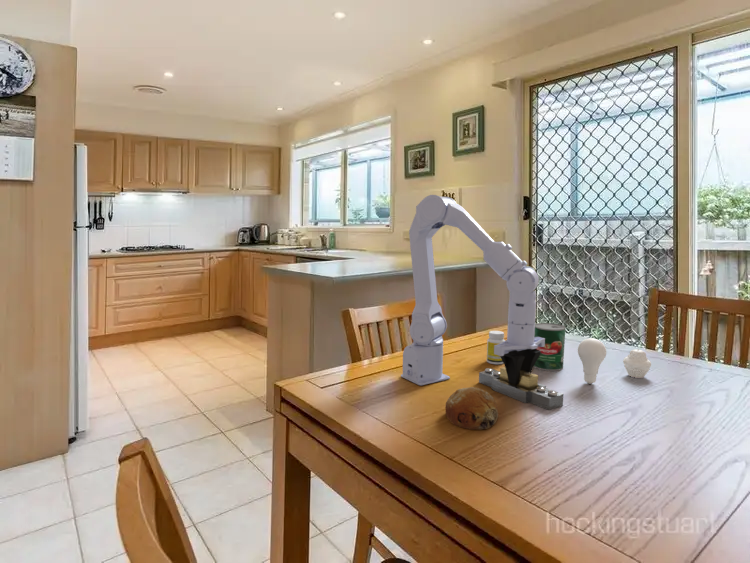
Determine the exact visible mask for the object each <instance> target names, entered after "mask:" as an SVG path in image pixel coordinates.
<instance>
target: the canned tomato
mask: <svg viewBox="0 0 750 563" xmlns="http://www.w3.org/2000/svg"><path fill="white" fill-rule="evenodd" d="M566 328H567V327H566V326H564V325H563V324H560V323H559V324H558V323H551V322H539V323H535V334H534V337H541V338H545V346H544V347H540V346H539V347H538V348H537V349H536V350H540V351H541V355H540V356H539V358H538V359H537V361H536V363H535V365H534V367H533V368H535V369H537V370H541V371H547V372H548V371H550V372H555V371H556V372H557V371H558V372H559V371H562V370H564V359H565V342H566V339H565V338H566V330H567V329H566Z"/></svg>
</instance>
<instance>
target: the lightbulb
mask: <svg viewBox="0 0 750 563" xmlns="http://www.w3.org/2000/svg"><path fill="white" fill-rule="evenodd" d="M577 355H578V356H579V359H580V361H581V363H582V368H583V369H582V370H583V371H582V372H583V373H584V375H583V380H584V382H586V383H587V384H590V385H592V384H595V383H596V381H597V375H598V374H599V369H600V367H601V364H602V363H603V361H605V359H606V356H607V348H606V346H605V344H604V343H603V342H602V341H601V340H599V339H597V338H593V337H592V338H591V337H590V338H585V339H584V340H582V341H581V342H580V343H579V344H578V347H577Z"/></svg>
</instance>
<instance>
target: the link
mask: <svg viewBox="0 0 750 563" xmlns="http://www.w3.org/2000/svg"><path fill="white" fill-rule="evenodd" d="M499 370H500V380H501V381H504V382H507V383H509V381H508V376H507V372H506V368H505V366H503V367H500V368H499ZM538 383H539V375H538V374H535V373H532V372H531V373H530V372H526V371H523V370H520V376H519V382H518V384H517V385H515V386H517V387H520V388H523V389H525V390H528V391H531V390H534V389H537V387H538ZM509 384H512V383H509ZM512 385H514V384H512Z"/></svg>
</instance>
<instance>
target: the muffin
mask: <svg viewBox="0 0 750 563" xmlns="http://www.w3.org/2000/svg"><path fill="white" fill-rule="evenodd" d="M622 361H623V362H622V363H623V364H624V365H623V366H624V368H625V370H626V373H627V375H628V376H629V377H630V376H631V378H634V377H635V378H634V379H643V378H644V377H646V375H647V374H648V373H649V371H650V368H651V367H652V362H651V361H650V359H648V356H647V353H646V351H644V350H641V349H639V348H637V349H631V351H629V354H628V355H627V356H626V357H624V358H623V360H622Z"/></svg>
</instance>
